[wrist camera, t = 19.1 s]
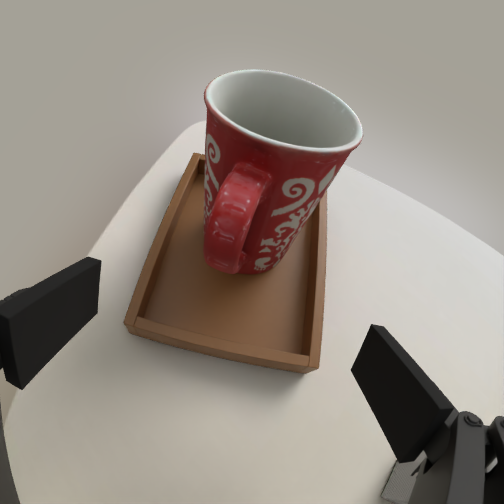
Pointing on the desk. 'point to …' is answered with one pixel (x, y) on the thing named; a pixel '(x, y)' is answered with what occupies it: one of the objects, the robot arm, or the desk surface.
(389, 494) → the padlock
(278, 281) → the tray
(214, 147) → the mug
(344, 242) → the desk surface
